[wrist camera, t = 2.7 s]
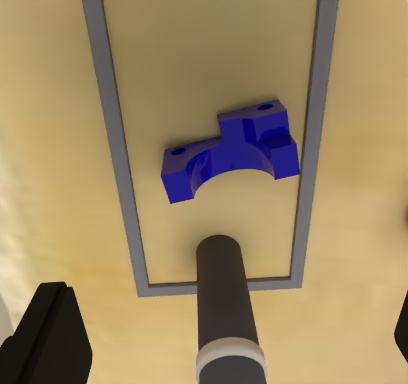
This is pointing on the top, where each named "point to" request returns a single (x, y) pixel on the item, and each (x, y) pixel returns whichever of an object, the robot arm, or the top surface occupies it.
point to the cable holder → (233, 150)
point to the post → (225, 317)
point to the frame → (122, 168)
